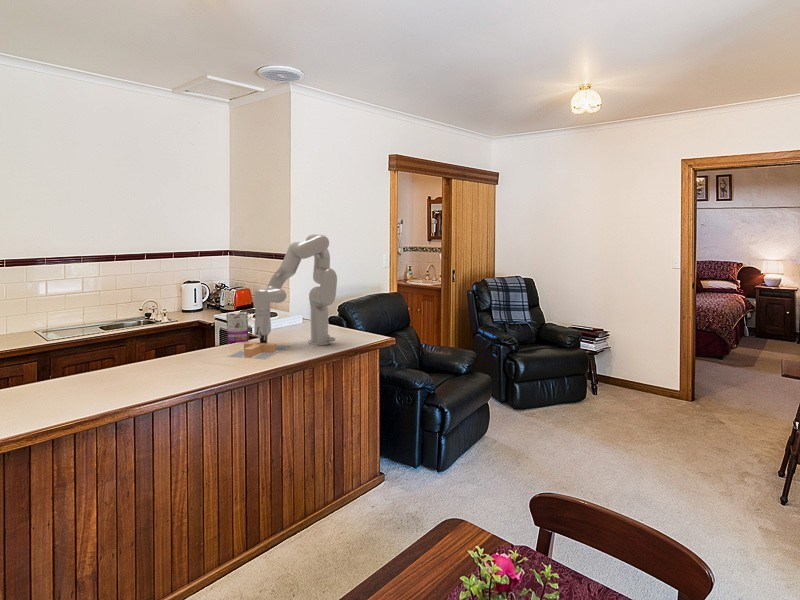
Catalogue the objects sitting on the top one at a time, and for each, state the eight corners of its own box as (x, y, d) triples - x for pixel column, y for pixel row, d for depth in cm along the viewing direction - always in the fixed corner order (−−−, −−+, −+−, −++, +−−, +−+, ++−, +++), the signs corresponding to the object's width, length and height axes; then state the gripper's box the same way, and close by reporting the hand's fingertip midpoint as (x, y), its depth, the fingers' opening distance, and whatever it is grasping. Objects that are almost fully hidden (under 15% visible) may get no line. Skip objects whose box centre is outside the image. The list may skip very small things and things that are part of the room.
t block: (276, 351, 266) (276, 343, 266) (263, 358, 252) (262, 350, 251) (247, 349, 269) (247, 341, 269) (233, 356, 255) (232, 348, 254)
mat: (290, 346, 279) (290, 345, 279) (265, 360, 250) (265, 359, 250) (256, 344, 283) (256, 343, 283) (227, 357, 254) (227, 356, 254)
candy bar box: (248, 340, 293) (247, 311, 291) (248, 342, 288) (247, 313, 286) (227, 341, 290) (226, 312, 288) (227, 343, 285) (226, 313, 283)
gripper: (262, 310, 275) (263, 344, 278) (249, 314, 261) (250, 350, 263) (275, 311, 274) (276, 345, 276) (262, 315, 259) (263, 351, 262)
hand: (263, 347), depth 270 cm, fingers closed
